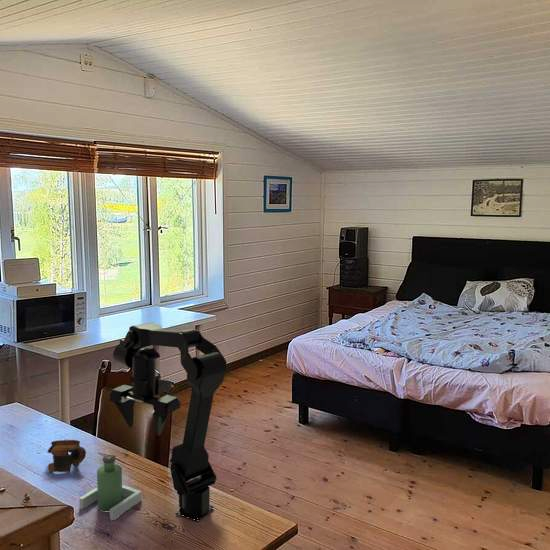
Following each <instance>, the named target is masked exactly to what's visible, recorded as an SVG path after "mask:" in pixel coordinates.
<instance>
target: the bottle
mask: <svg viewBox="0 0 550 550" xmlns="http://www.w3.org/2000/svg"><path fill="white" fill-rule="evenodd" d="M116 458H117V456H116V455H115V454H107V455H104V456H103V457H102V462H103V465H102V466H100V467H99V468H98V469H97V471H96V475H97V476H96V477H97V478H96V479H97V484H96V488H97V490H98V500H97V509H98V508H99V509H100V510H102V511H110V509H111V508H113V507H114V506H116V505H117V504H119V503H120V502H122V501H123V497H122V485H123V467H121V465H119V464H116V463H115V462H116V460H117V459H116ZM99 509H98V510H99ZM100 510H99V511H100ZM102 511H101V512H102Z"/></svg>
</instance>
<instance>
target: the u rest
mask: <svg viewBox="0 0 550 550" xmlns="http://www.w3.org/2000/svg"><path fill="white" fill-rule="evenodd" d="M122 498H124V499H122V502H120V503H119V504H117V505H116V506H114V507H113V508H111V509H110V512H109V520H110V519H112V520H114V519H115V518H117V517H118V516H120V515H121V514H122V515H124V514H125V513H126V512H125V511H127V510H128V509H129V510H131V509H132V508H133V507H132V506H134V505H135V504H136V503H138V502H139V503H141V502H142V501H143V500H142V491H141V490H139V489H135V488H133V487H130V486H127V485H125V484H122ZM141 500H142V501H141ZM96 501H98V490H97V487H95V488H94V489H92V490H89V492H87V493H86V494H84V495H82V496H81V497H79V509H81V508H82V509H81V510H83V508H84V509H85V508H87V507H88V505H89V506H91V504H94V503H95V502H96ZM140 501H141V502H140ZM139 503H138V504H139ZM135 506H136V505H135ZM135 506H134V507H135ZM131 507H132V508H131ZM130 508H131V509H130ZM129 510H128V511H129ZM128 511H127V512H128ZM124 512H125V513H124ZM123 513H124V514H123ZM122 515H121V516H122ZM121 516H120V517H121ZM118 518H119V517H118ZM118 518H117V519H118ZM112 520H111V521H112ZM115 520H116V519H115ZM115 520H114V521H115Z"/></svg>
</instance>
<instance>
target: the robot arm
mask: <svg viewBox="0 0 550 550" xmlns="http://www.w3.org/2000/svg"><path fill="white" fill-rule="evenodd" d="M151 346H159V347H167V348H168V347H170V348H177V349H178V350H179V351H180V365H181V366H182V368H183V369H184V371H185V372H186V381H187V383H188V384H189V387H190V389H191V393H190V399H189V405H188V410H187V415H186V420H185V421H186V423H185V428H184V429H185V430H184V432H183V434H184V435H183V440H182V442H181V443H180V444H177V445H175V446H173V448H172V450H171V458H170V460H169V462H170V475H171V479H172V484H173V489H174V490H175V491H176V495H178V507H179V508H178V509H177V510H176V511H175V514H176V513H177V514H180V515H184V516H186V517H189V518H192V519H195V520H199V519H200V518H202V517H203V516H204V515H205V514H206V513H208V512H209V511H210V510H211V509H212V508H213V509H214V505H212V504H210V503H211V502H210V501H211V500H210V497H211V496H210V494H211V492H210V490H211V489H210V488H211V487H210V486H212V485H215V484H216V481H217V475H216V472H215V471H214V469H213V467H212V465H211V463H210V461H209V456H210V455H209V453H208V451H207V449H206V448H205V445H206V443H205V442H206V437H207V433H208V428H209V427H208V426H209V422H210V421H209V420H210V417H211V416H210V415H211V411H212V405H213V400H214V395H215V393H216V392H217V390H218V389H219V387H220V386H221V385H222V384H223V382H224V379H225V377H226V373H227V370H228V364H227V360H226V358H225V357H224V355H223V354H222V352H221V351H220V349H219V348H218V347H217V345H216V344H214V343H213V342H211V341H209V340H208V339H206V338H205V337H204V336H203V334H202V333H201V332H200V331H199V330H198V329H195V328H191V329H181V328H179V329H178V328H166V327H165V328H163V327H162V325H161V324H159V323H156V322H154V321H153V322H148V323H141V324H135V325H130V326H129V330H128V332H126V334H125V337H124V338H121V339H119V344H117V345H116V347H115V348H114V349H113V351H112V357H113V359H114V361H115V362H116V363H118V364H120V365H122V366H125V367H126V368H129V369H132V376H131V377H129V378H128V382H129V383H132V386H131V385H127V384H122V385H120V386H117V387H115V388H112V389H111V391H110V392H109V402H112V403H113V405H115V407H116V408H117V410H118V411H119V413H120V414H121V416H122V417H123V419H124V421H125V423H126V424H127V427H128V428H129V429H130V428H132V427H133V426H134V412H135V411H134V405H135V404H136V402H140V403H144V404H148V405H151V406H152V407H153V411H154V412H153V413H152V418H153V421H154V429H155V432H156V433H155V434H156V436H160V435H161V434H162V432H163V429H164V427H165V425H166V421H167V418H168V417H169V415H170V414H172V413H173V412H175V411H177V410H179V409H181V400H180V398H179V397H178V396H173V395H170V394H168V393H170V390H171V389H170V388H171V384H172V380H170V379H165V378H161V376H160V374H157V372H156V371H157V370H156V368H157V364H156V363H157V362H156V359H159V358H161V355H160V353H159V352H158V351H157V350H156V349H155V347H153V348H146V347H151ZM193 347H194V348H195V349H196V350H198V351H199V352H201V353H202V355H198V356H193V357H191V354H190V353H189V348H190V349H191V348H193ZM163 392H164V393H167V394H166V395H164V396H162V397H156V396H160V395H162V393H163ZM213 509H212V510H213ZM212 510H211V511H212ZM211 511H210V512H211ZM210 512H209V513H210ZM209 513H208V514H209ZM177 514H176V515H177ZM180 515H179V516H180ZM205 516H206V515H205ZM205 516H204V517H205ZM186 517H185V518H186ZM204 517H203V518H204ZM189 518H188V519H189ZM197 518H198V519H197ZM203 518H202V519H203Z"/></svg>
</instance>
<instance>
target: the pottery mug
mask: <svg viewBox="0 0 550 550" xmlns="http://www.w3.org/2000/svg"><path fill="white" fill-rule="evenodd" d="M80 443H81V441H80V440H78V439H61V440H53V441H51V443H50V444H51V445H50V447H49V448H48V449H47V451H46V452H47V453H48V454H51V455H52V459H53V460H52V461H53V462H51V463H50V462H49V464H48V472H49V473H70V472H71V470H72V469H71V468H72V466H73V467H75V468H76V467H79V465H80V464H81V463H82V462H83V461H84V460H85V458H86V454H87V451H86V449H85V447H83V446H81V445H80ZM69 453H70V454H69Z"/></svg>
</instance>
